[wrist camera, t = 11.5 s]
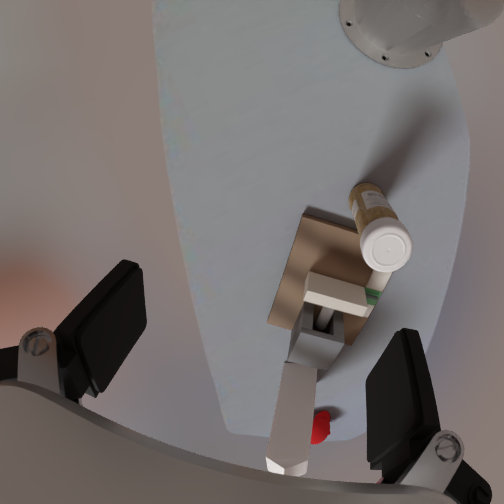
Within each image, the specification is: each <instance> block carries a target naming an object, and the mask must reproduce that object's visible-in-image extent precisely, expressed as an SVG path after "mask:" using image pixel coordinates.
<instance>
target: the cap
mask: <svg viewBox="0 0 504 504" xmlns="http://www.w3.org/2000/svg"><path fill="white" fill-rule="evenodd" d="M329 422H330V414H329V412H328V411H321V412H319V413H318V414H317V415H316V416H315V418H314V419H313V425H312V435H311V443H310V444H318V443H321V442H322V441H324V440H325V439H326V437H327V436H328V435H330V423H329Z"/></svg>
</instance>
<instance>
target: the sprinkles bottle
mask: <svg viewBox="0 0 504 504" xmlns="http://www.w3.org/2000/svg"><path fill="white" fill-rule="evenodd" d="M349 206H350V208H351V210H352V214H353V217H354V220H355V223H356V227H357V230H358V233H359V235H360V247H361V251H362V255H363V258H364V260H365V262H366V263H367V265H368V266H369V267H371V268H372V269H374V270H376V271H379V272H392V271H395V270H397V269H399V268H401V267H402V266H403V265H404V264H405V263H406V262H407V261H408V259H409V258H410V256H411V253H412V239H411V237H410V235H409V233H408V231H407V229H406V228H405V226H404V225H403V224H402V223H401V222H400V221H399V220H398V217H397V215H396V213H395V212H394V210H393V209H392V207H391V206H390V204H389V203H388V201H387V200H386V198H385V197H384V196H383V193H382V191H381V190H380V189H379V188H378V187H377V186H375V185H373V184H371V183H363V184H359V185H358V186H356V187H354V188H353V190H352V191H351V193H350V196H349Z"/></svg>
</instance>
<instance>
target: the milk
mask: <svg viewBox="0 0 504 504" xmlns="http://www.w3.org/2000/svg"><path fill="white" fill-rule="evenodd" d="M316 381H317V368H313V367H309V366H305V365H301V364H297V363H284V366H283V371H282V377H281V383H280V388H279V393H278V399H277V404H276V409H275V414H274V419H273V424H272V429H271V434H270V439H269V444H268V448H267V454H266V461H267V467H268V470H269V471H270V472H272V473H278V474H283V475H290V476H296V477H298V476H300V475H303V474H305V473H306V472H307V466H308V459H309V452H310V443H311V435H312V425H313V415H314V405H315V393H316Z"/></svg>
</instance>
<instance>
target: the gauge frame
mask: <svg viewBox="0 0 504 504" xmlns="http://www.w3.org/2000/svg"><path fill="white" fill-rule="evenodd" d="M309 271H311V272H314V273H317V274H321V275H324V276H327V277H331V278H334V279H338V280H341V281H344V282H348V283H351V284H355V285H358V286H361V287H364V289H365V293H368V294H371V295H375V296H378V299H379V298H380V296H381V294H382V292H383V290H384V288H385V286H386V285H387V283H388V281H389V279H390V277H391V275H392V273H393V271H392V272H379V271H376V270H374V269H372V268H371V267H369V266H368V265H367V263H366V262H365V260H364V258H363V255H362V251H361V247H360V235H359V233H358V230H355V229H352V228H348V227H345V226H342V225H339V224H336V223H333V222H330V221H326V220H323V219H320V218H317V217H313V216H310V215H307V214H304V213H303V214H302V218H301V221H300V224H299V227H298V230H297V233H296V236H295V240H294V243H293V246H292V249H291V252H290V255H289V258H288V261H287V264H286V267H285V270H284V273H283V276H282V279H281V282H280V285H279V288H278V291H277V294H276V297H275V300H274V303H273V306H272V309H271V311H270V314H269V317H268V321H267V323H268V324H272V325H275V326H279V327H282V328H286V329H289V330H292V333H291V340H290V346H289V352H288V359H287V361H290V362H293V363H297V364H301V365H305V366H309V367H313V368H317V369H322V370H326V371H328V369H329V368H330V366H331V365H332V363H333V361H334V360H335V358H336V357H337V355H338V353H339V352H340V350H341V349H342V347H343V345H344V344H347V345H352V344H353V342H354V341H355V339H356V337H357V336H358V334H359V332H360V331H361V329H362V327H363V326H364V324H365V322H366V321H367V319H368V317H369V315H370V314H371V312H372V310H373V308H374V307H375V305H376V303H377V301H378V300H374V299H370V298H367V297H366V300H367V306H368V308H367V310H366V312H365V313H364V315H363V317H361V316H357V315H353V314H350V313H346V312H342V311H339V310H334V312H333V314H332V316H331V318H330V320H329V322H328V324H327V326H326V328H325V329H324V330H320V329H318V328H316V326H315V323H316V320H317V318H318V316H319V314H320V312H321V310H322V308H323V306H321V305H317V304H314V303H310V302H307V301H303V298H304V288H305V280H306V278H307V275H308V272H309Z"/></svg>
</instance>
